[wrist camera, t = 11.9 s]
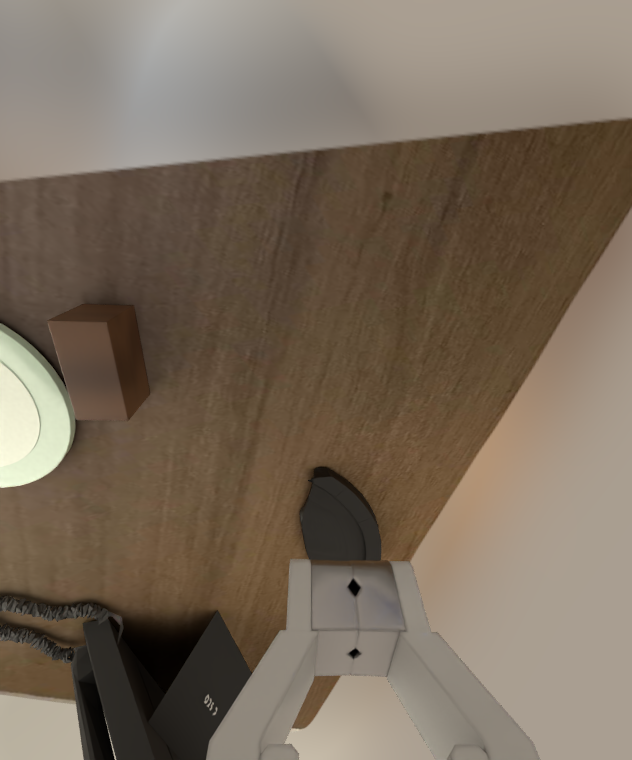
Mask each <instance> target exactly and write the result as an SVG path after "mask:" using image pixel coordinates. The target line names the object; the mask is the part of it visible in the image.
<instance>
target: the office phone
mask: <svg viewBox="0 0 632 760" xmlns="http://www.w3.org/2000/svg"><path fill="white" fill-rule="evenodd" d="M6 597H7V598H6ZM10 599H11V600H10ZM25 600H26V598H25V599H20V600H18V599H14V598H13V596H12V597H10V596H5V597H4V596H2V597H0V612H1V611H2V610H3V611H5V612H6V611H7V610H8V611H10V612H13V613H14V612H16V613H22V616H23V615H24V614H32V616H33V617H40V616H42V619H44V620H48V621H52V620H53V619H54V618H55V619H56V621H57V622H58V620H62V619H66V618H75V619H76V618H77V617H78V616H80V617H83V618H84V617H85V616H86V615H87V614H88V616H87V618H89V617H90V616H91V618H93V617H94V618H95V619H97V621H93V622H87V623H83V629H84V635H85V641H86V645H87V646H86V645H84V646H80V647H76V648H72V649H71V647H70V648H69V649H67V648H62V649H61V647H60V646H59V647H58V646H56V644H57V643H54V641H51V640H48V639H47V637H45V638H43V637H44V635H45V634H40V633H36V632H35V631H34V630H33V631H32V632H31V634H30V630H27V629H25V628H22V629H19V627H18V628H15V629H14V627H12V628H10V626H9V625H7V623H6V624H4V625H3V626H2V627H1V625H0V638H1V640H0V641H3V640H4V641H7V640H11V641H14V642H16V643H18V642H20V643H22V644H23V642H26V643H31V642H32V644H31V646H30V647H32V646H33V645H34V644H35V643H36V642H37V643H36V644H35V645H34V647H33V648H37V647H38V646H39V647H38V648H37V649H36V650H38V649H41V648H42V650H41V653H42V652H43V651H44V653H45V654H46V655H47V656H51V657H52V658H53V659H52V660H58V659H61V660H63V662H64V663H69V662H72V663H71V670H72V677H73V684H74V692H75V699H76V706H77V713H78V720H79V728H80V735H81V742H82V750H83V757H84V760H115V759H114V755H113V750H112V746H111V742H110V738H109V733H110V737H111V741H112V744H113V748H114V752H115V756H116V759H117V760H206V757H207V751H208V746H209V741H210V739H211V738H212V736H213V734H214V733H215V731H216V730H217V728H218V727H219V725H220V724H221V722H222V720H223V719H224V717H225V716H226V714H227V713H228V711H229V709H230V708H231V706H232V705H233V703H234V702H235V700H236V698H237V697H238V695H239V694H240V692H241V691H242V689H243V687H244V686H245V684H246V683H247V681H248V680H249V678H250V676H251V675H252V673H251V671H250V670H249V668H248V666H247V664H246V662H245V660H244V658H243V657H242V655H241V653H240V651H239V649H238V647H237V645H236V644H235V642H234V640H233V638H232V636H231V634H230V632H229V631H228V629H227V627H226V625H225V623H224V621H223V619H222V618H221V616H220V614H219V612H218V610H217V612H216V614H215V615H214V617H213V619H212V620H211V622H210V623H209V625H208V627H207V628H206V630H205V631H204V633H203V635H202V636H201V638H200V639H199V641H198V643H197V644H196V646H195V648H194V649H193V651H192V652H191V654H190V656H189V657H188V659H187V660H186V662H185V664H184V665H183V667H182V669H181V670H180V672H179V673H178V675H177V677H176V678H175V680H174V681H173V683H172V685H171V686H170V688H169V689H168V691H167V693H166V694H164V692H163V691H162V690H161V688H160V687H159V686H158V685H157V683H156V682H155V681H154V679H153V678H152V677H151V675H150V674H149V673H148V671H147V670H146V669H145V668H144V666H143V665H142V664H141V662H140V661H139V660H138V658H137V657H136V656H135V655H134V653H133V652H132V651H131V649H130V648H129V646H128V645H127V644H126V642H125V641H124V640H123V638H122V637H121V634H122V631H123V622H122V617H120V616H118V615H116V614H113V613H111V612H109V611H107V609H105V608H102V609H101V606H99V605H98V607H97V606H96V604H95V605H94V604H93V603H90V605H89V603H88V604H87V605H82V602H81V603H80V604H78V605H77V606H76V605H75V604H74V603H73V604H72V606H65V607H61V606H60V607H59V608H58V607H57V606H56V607H55V606H54V607H53V608H52V606H50V605H49V606H48V605H46V604H44V603H40V604H39V605H38V604H36V603H32V602H30V601H25ZM9 601H10V602H9ZM8 602H9V603H8ZM18 602H19V603H18ZM7 604H8V605H7ZM47 607H48V608H47ZM51 608H52V610H51ZM46 609H47V610H46ZM88 609H89V610H88ZM50 610H51V611H50ZM79 611H80V612H79ZM25 612H26V613H25ZM95 614H96V615H95ZM94 615H95V616H94ZM111 616H112V617H113V618H114V619H115V620H116V621H117V622H118V624H119V625H120V631H119V633H118V632H117V630H116V629H115V628H114V626H113V625H112V623H111V622H110V621H109V619H108V617H111ZM6 625H7V627H6ZM5 627H6V628H5ZM13 629H14V630H13ZM18 629H19V630H18ZM29 634H30V635H29ZM24 636H25V637H24ZM23 637H24V638H23ZM55 646H56V647H55ZM56 649H57V650H56ZM73 649H74V650H73ZM71 651H72V653H71ZM74 651H75V654H74ZM48 652H49V653H48ZM47 653H48V654H47ZM53 653H54V654H53ZM68 657H70V658H68ZM104 714H105V716H104ZM105 718H106V720H105ZM106 722H107V724H106ZM107 725H108V729H109V733H108V729H107Z"/></svg>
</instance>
